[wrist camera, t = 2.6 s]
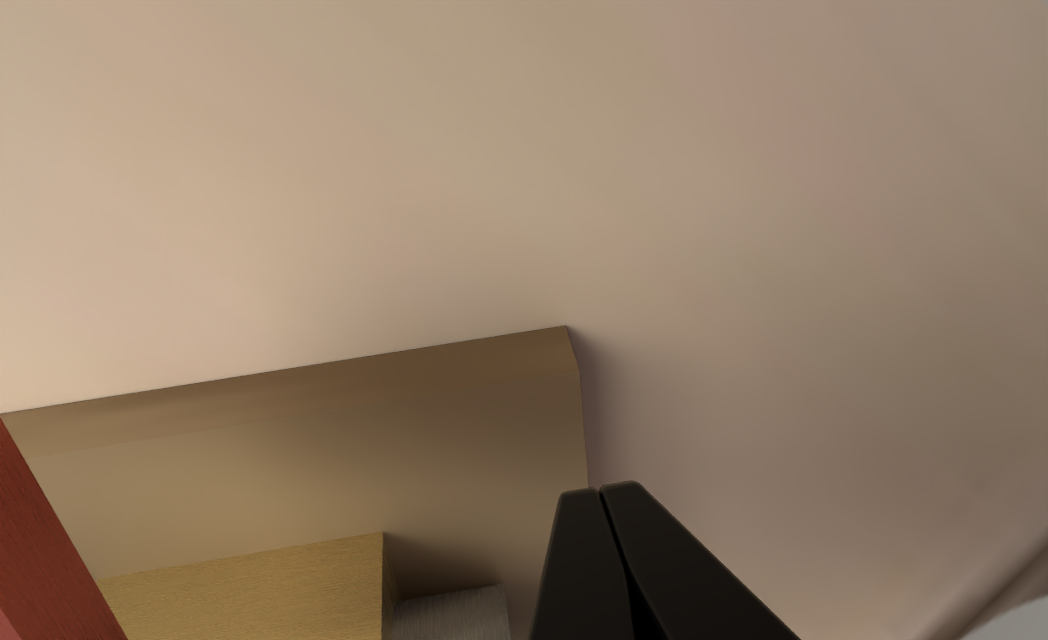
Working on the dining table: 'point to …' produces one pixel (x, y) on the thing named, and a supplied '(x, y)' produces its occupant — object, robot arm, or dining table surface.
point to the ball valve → (299, 599)
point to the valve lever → (42, 565)
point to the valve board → (330, 464)
